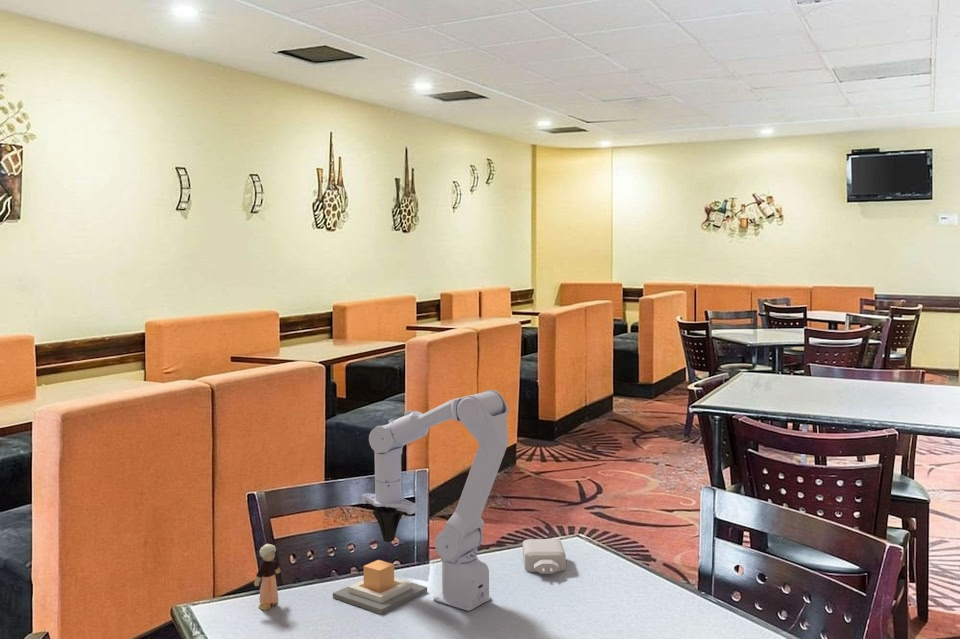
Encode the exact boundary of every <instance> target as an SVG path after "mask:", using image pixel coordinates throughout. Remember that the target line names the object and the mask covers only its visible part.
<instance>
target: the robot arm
mask: <svg viewBox="0 0 960 639" xmlns="http://www.w3.org/2000/svg"><path fill="white" fill-rule="evenodd" d="M509 411H510V408H509V405H508V404H507V403H506V400H505V398H504V397H503V395H502V394H501V393H500V392H498V391H497V390H494V389H489V390H486V391H483V392H479V393H474V394H470V395H465V396H462V397H458V398H457V397H456V398H454V399H450V400H448V401H446V402H444V403H442V404H440V405H438V406H436V407H434V408H432V409H430V410H428V411H426V412H425V413H422V412H420V411H419V410H418V411H417V410H414V411H413V410H412V409H411V410H408V411H405V412H403V416H401V417H398V418H397V419H395V418H391V419H389V420H388V421H387V422H388V423H387V424H383V425H376V426H375V427H374V428H372V429H371V430H370V433H369V435H368V442H369V443H368V444H369V446H370V447H371V450H373V452H374V485H375V486H374V489H375V490H374V493H369V492H367V493H363V494H361V504H364V505H366V504H369V505H372V506H373V507H376V508H375V509H373V510H372V515H373V516H374V518H375V519H376V521H377V524H378V526H379V530H380V532H381V536H382V539H383V542H386V543H390V542H393V541H395V538H396V534H397V529H398V527H399V524H400V521H401V520H402V517H403V515H404V514H405V513H406V514H407V515H412V514H416V513H417V503H415V502H412V501H410V500H407V499H406V498H404V497H403V496H402V494H403V493H402V492H403V491H402V489H403V488H402V455H403V448H404V446H406V445H408V444H410V443H412V442H414V441H418V440H419V439H421V438H424V437H426V436H427V435H428V433H429V430H430V428H431V427H434V426H436V425H438V424H441V423H444V422H447V421H449V420H452V419H453V420H454V421H455V422H459V421H460V422H461V423H462V425H463V426H464V428H466V430H467V431H468V432H469V433H470V434H471V435H472V437H473V438H474V439H475V440H476V441H477V443H478V448H477V450H476V453H475V456H474V458H473V462H472V464H471V466H470V470H469V472H468V476H467V478H466V481H465V484H464V486H463V489H462V492H461V495H460V497H459V500H458V502H457V506H456V509H455V511H454V512H453V514H452V515H451V516H450V518H449V519H448V520H447V521H446V522H445V525H444V527H443V529H442V530H441V531H440V532H438V534H437V535H436V537H435V540H434V546H435V547H434V549H435V551H436V553H437V555H438V556H439V557H440V561H441V576H442V577H441V579H442V581H441V585H442V588H441V589H442V590H441V592H442V593H440V594H438V595H436V596H434V597H433V601H436V602H438V603H441V604H445V605H447V606H451V607H455V608H457V609H461V610H463V611H467V612H470V611H471V610H473V609H476V608H477V607H479V606H480V605H483V604H484V603H486V602H488V601H490V600H491V599H492V596H491V595H490V572H489V571H490V569H489V567H488V565H487V564H486V563H485V562H483V561H481V560H480V559H479V558H478V557H477V556H478V548H479V547H480V546H481V544H482V542H483V536H484V534H483V528H484V525H485V521H484V520H483V519H482V515H483V513H484V509H485V507H486V505H487V501H488V499H489V496H490V493H491V491H492V488H493V486H494V482H495V480H496V477H497V475H498V472H499V470H500V467H501V464H502V461H503V458H504V456H505V453H506V450H507V448H508V446H509V433H508V432H509V431H508V419H507V418H508V415H509Z"/></svg>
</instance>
